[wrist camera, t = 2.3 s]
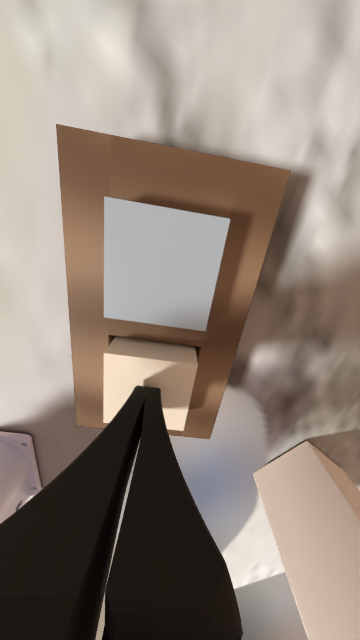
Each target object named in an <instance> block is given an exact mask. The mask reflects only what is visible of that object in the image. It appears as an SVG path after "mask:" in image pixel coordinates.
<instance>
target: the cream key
mask: <svg viewBox="0 0 360 640" xmlns="http://www.w3.org/2000/svg"><path fill="white" fill-rule="evenodd" d="M197 367H198V362H197V356H196V350H195V347H194V346H187V345H179V344H172V343H164V342H156V341H149V340H141V339H134V338H126V337H119V336H116V337H115V338H114V340H113V341H112V342H111V344H110V345H109V346H108V348H107V349H106V351H105V352H104V387H103V423H110V421H111V420H112V419H113V418H114V417H115V415H116V414H117V413H118V411H119V410H120V409H121V407H122V406H123V405H124V403H125V402H126V401H127V399H128V398H129V396H130V395H131V393H132V391H133V390H134V388H135V387H136V386H137V385H138V386H146V387H155V388H160V389H161V403H162V409H163V415H164V419H165V423H166V427H167V429H169V430H179V431H183V430H184V426H185V421H186V417H187V412H188V408H189V403H190V399H191V394H192V390H193V385H194V381H195V376H196V372H197Z"/></svg>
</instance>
